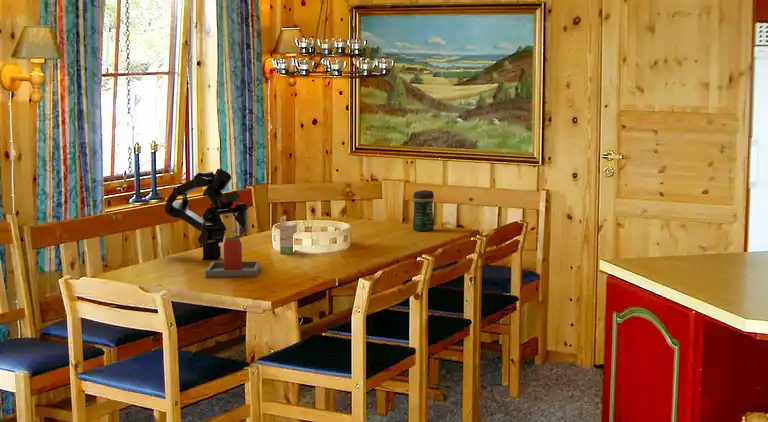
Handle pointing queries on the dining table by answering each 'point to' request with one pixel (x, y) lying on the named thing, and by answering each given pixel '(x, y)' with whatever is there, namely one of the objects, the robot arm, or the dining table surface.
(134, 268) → the dining table surface
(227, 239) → the beer can
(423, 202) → the coffee jar
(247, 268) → the parts tray
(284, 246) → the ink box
